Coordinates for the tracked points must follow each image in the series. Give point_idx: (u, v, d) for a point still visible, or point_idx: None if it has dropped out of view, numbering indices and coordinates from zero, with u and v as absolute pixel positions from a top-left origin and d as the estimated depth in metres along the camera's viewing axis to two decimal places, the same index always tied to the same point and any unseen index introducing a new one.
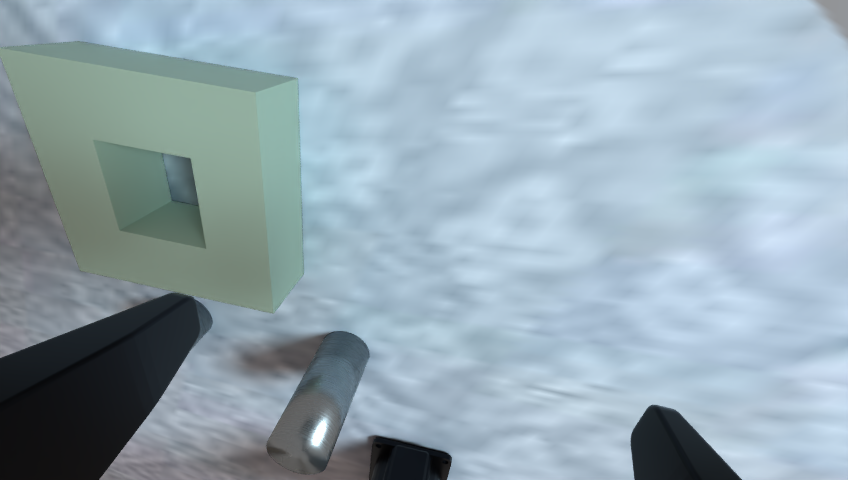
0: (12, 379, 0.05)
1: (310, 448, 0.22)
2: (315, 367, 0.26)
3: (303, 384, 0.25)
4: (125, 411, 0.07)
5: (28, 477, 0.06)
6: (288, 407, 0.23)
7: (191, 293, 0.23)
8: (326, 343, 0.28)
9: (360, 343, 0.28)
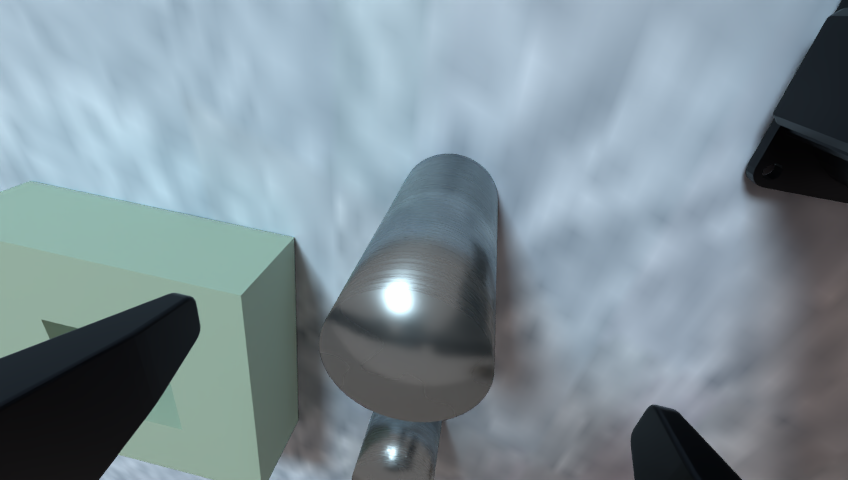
0: (12, 379, 0.05)
1: (362, 322, 0.08)
2: None
3: None
4: (125, 411, 0.07)
5: (28, 477, 0.06)
6: None
7: (248, 394, 0.16)
8: None
9: (416, 167, 0.14)
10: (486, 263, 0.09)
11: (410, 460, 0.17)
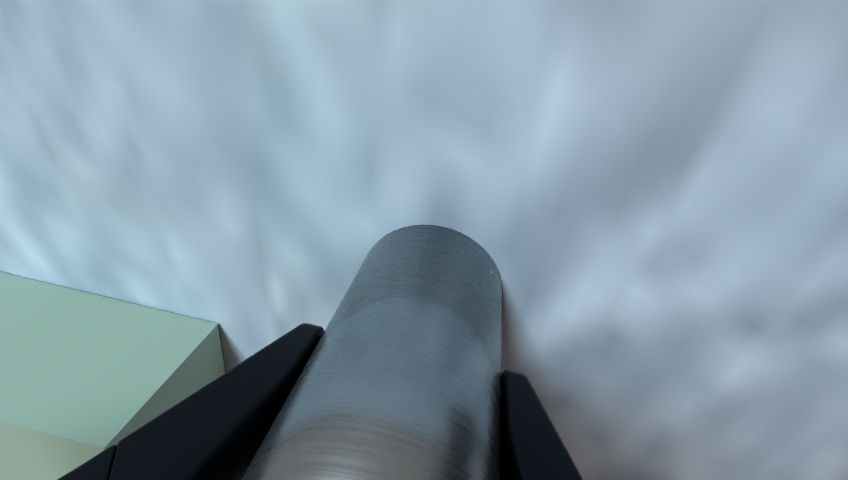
0: (200, 428, 0.05)
1: None
2: None
3: None
4: None
5: None
6: None
7: None
8: None
9: (379, 244, 0.09)
10: None
11: None
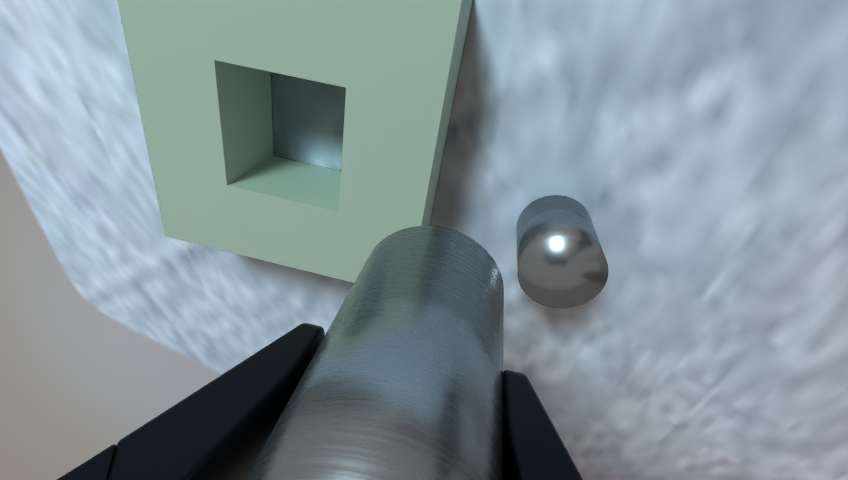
0: (200, 428, 0.05)
1: None
2: None
3: None
4: None
5: None
6: None
7: (431, 146, 0.15)
8: None
9: (380, 245, 0.09)
10: None
11: (588, 237, 0.16)
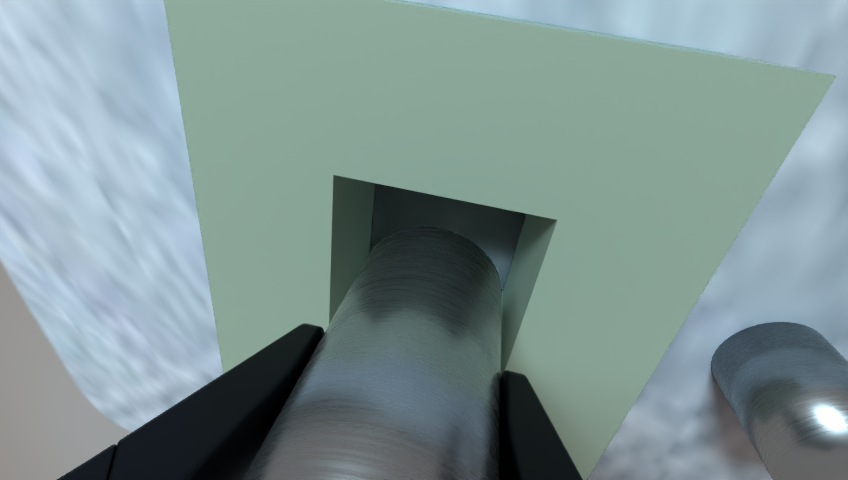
0: (200, 428, 0.05)
1: None
2: None
3: None
4: None
5: None
6: None
7: (686, 305, 0.09)
8: None
9: (378, 246, 0.09)
10: None
11: None
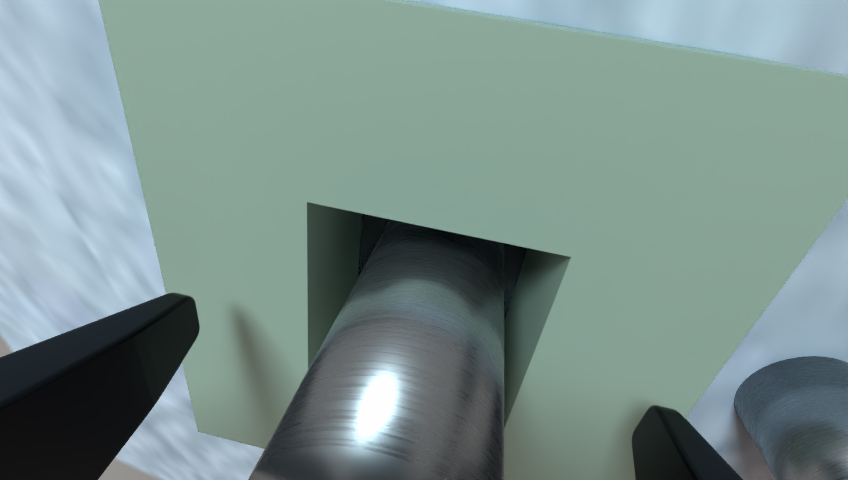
0: (11, 379, 0.05)
1: None
2: None
3: None
4: (124, 411, 0.07)
5: (27, 477, 0.06)
6: None
7: (722, 355, 0.08)
8: None
9: None
10: (492, 359, 0.07)
11: None
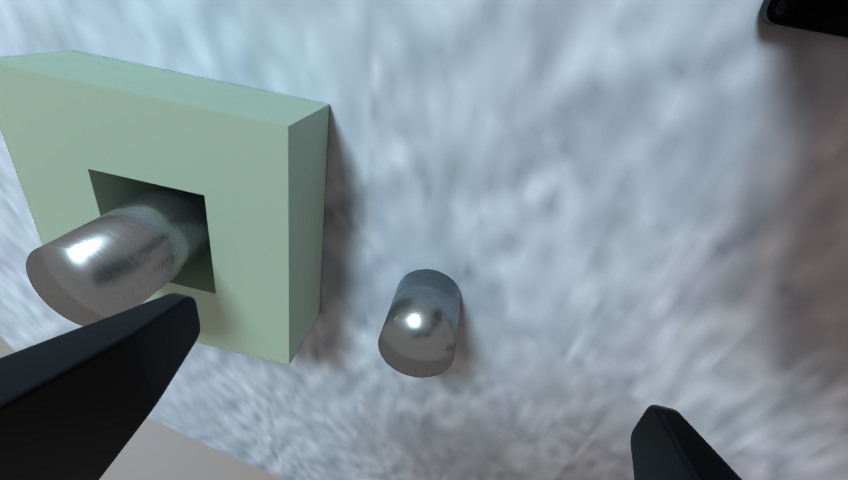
0: (12, 379, 0.05)
1: (44, 265, 0.14)
2: None
3: None
4: (125, 411, 0.07)
5: (28, 477, 0.06)
6: None
7: (285, 244, 0.17)
8: None
9: None
10: (156, 237, 0.16)
11: (435, 319, 0.18)
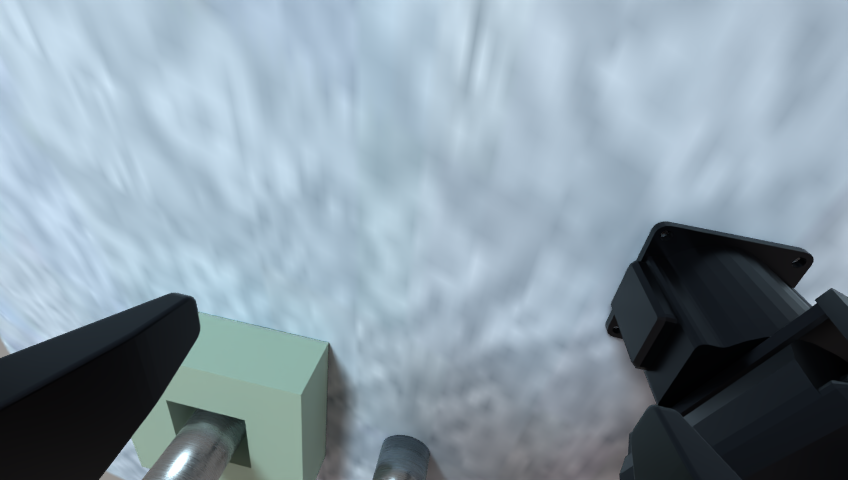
0: (12, 379, 0.05)
1: None
2: None
3: None
4: (125, 411, 0.07)
5: (28, 477, 0.06)
6: None
7: (299, 448, 0.24)
8: None
9: None
10: (214, 453, 0.23)
11: None
